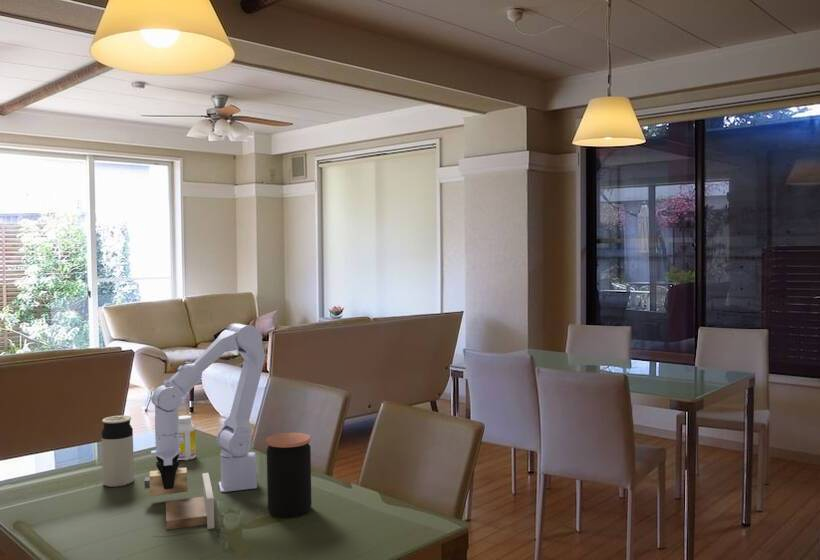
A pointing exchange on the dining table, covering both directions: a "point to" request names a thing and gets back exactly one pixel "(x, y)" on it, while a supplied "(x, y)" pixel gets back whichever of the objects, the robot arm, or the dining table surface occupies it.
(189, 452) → the supplement bottle
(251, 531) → the dining table surface
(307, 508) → the coffee jar
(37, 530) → the dining table surface
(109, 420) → the travel mug
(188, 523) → the brown rectangular panel
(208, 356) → the robot arm
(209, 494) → the shelf board
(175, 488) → the tan rectangular block
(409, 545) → the dining table surface
